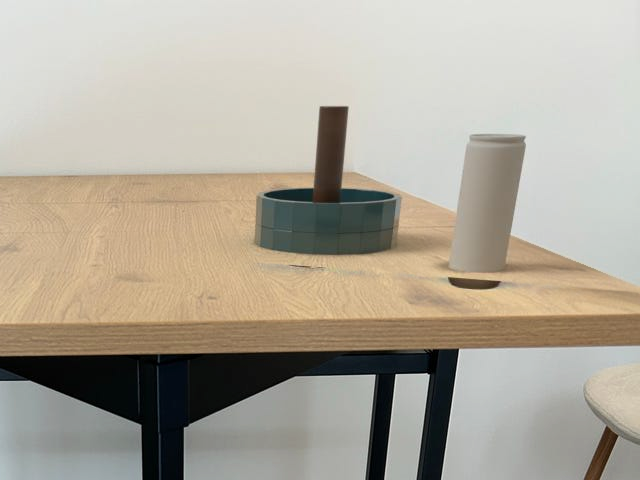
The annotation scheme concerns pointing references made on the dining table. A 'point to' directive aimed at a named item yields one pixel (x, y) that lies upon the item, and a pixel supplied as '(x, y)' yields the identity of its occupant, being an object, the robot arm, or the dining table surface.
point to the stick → (330, 154)
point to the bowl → (327, 222)
